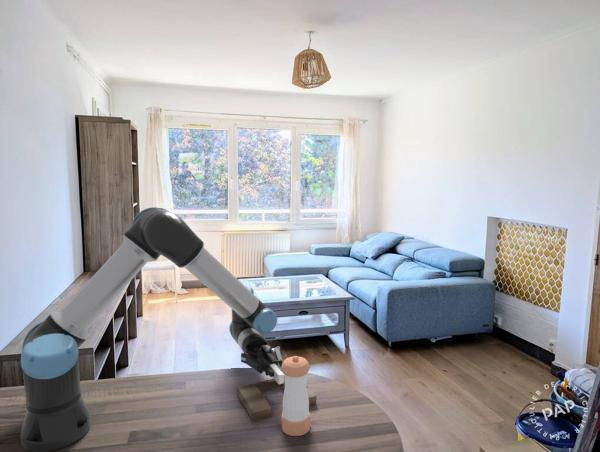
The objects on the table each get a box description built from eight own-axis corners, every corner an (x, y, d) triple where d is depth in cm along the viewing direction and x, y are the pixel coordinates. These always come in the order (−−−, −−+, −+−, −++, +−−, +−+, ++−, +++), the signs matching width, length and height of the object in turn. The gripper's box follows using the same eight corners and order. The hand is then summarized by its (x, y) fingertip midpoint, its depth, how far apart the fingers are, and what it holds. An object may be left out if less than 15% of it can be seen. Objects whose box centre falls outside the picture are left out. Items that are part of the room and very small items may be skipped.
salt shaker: (287, 416, 112) (286, 348, 109) (313, 421, 110) (313, 351, 107) (277, 433, 105) (276, 361, 102) (305, 438, 103) (305, 365, 100)
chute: (237, 395, 122) (237, 387, 121) (295, 381, 130) (295, 373, 129) (253, 421, 110) (253, 412, 110) (316, 404, 118) (316, 395, 118)
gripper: (271, 351, 140) (302, 386, 119) (233, 358, 134) (258, 397, 113) (271, 329, 138) (302, 361, 117) (233, 336, 133) (258, 371, 112)
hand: (281, 379), depth 115 cm, fingers closed
